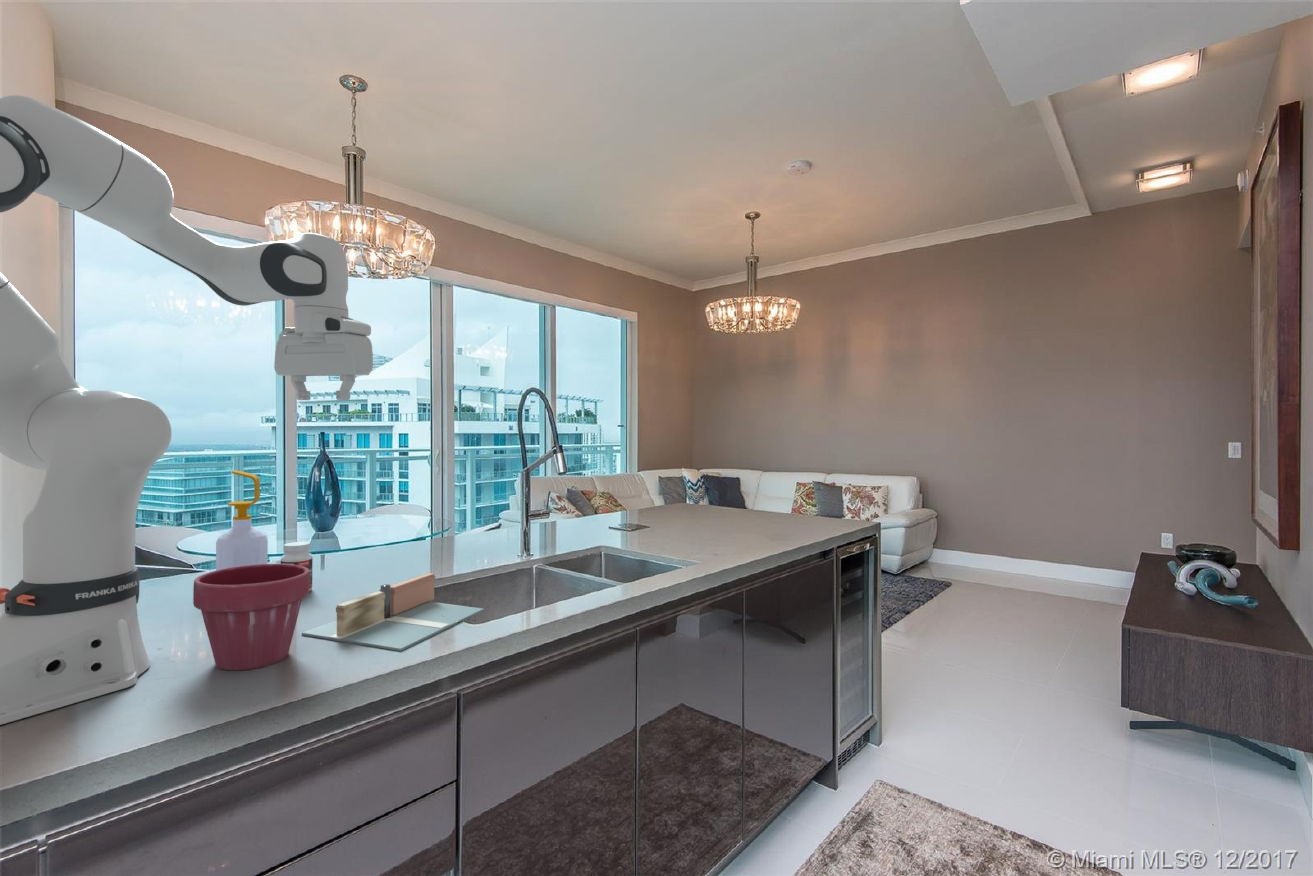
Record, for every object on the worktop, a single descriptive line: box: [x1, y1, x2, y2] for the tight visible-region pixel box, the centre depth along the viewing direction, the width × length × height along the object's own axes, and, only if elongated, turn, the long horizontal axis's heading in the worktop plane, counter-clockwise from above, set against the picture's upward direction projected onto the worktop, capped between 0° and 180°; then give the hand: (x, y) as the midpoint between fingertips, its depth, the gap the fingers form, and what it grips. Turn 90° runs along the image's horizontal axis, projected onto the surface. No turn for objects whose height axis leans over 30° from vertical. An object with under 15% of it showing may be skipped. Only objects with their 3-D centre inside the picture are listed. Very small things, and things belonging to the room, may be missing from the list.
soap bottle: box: [215, 469, 269, 571], centre depth 129 cm, size 9×9×25 cm
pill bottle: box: [280, 541, 314, 592], centre depth 126 cm, size 6×6×10 cm
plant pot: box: [192, 563, 310, 671], centre depth 90 cm, size 14×14×13 cm
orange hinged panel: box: [390, 572, 436, 615], centre depth 115 cm, size 11×2×5 cm, turn 162°
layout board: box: [301, 601, 485, 652], centre depth 108 cm, size 22×20×1 cm
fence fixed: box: [335, 590, 385, 636], centre depth 104 cm, size 9×2×5 cm, turn 162°
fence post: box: [380, 583, 391, 619], centre depth 109 cm, size 2×2×6 cm
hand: (323, 400), depth 114 cm, fingers open, 8 cm apart
